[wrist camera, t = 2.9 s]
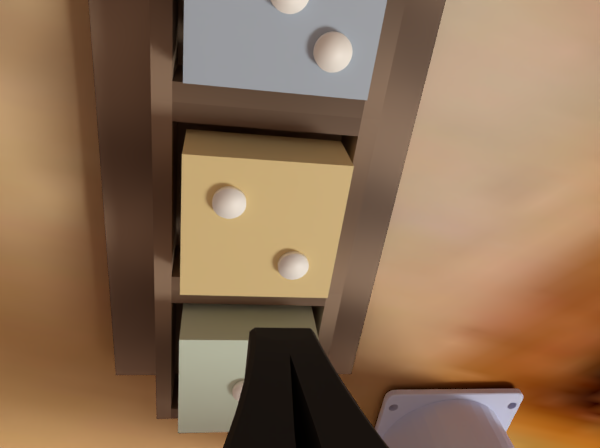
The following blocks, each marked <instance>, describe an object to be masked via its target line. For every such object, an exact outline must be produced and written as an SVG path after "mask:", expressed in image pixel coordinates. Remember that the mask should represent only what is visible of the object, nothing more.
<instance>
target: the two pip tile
mask: <svg viewBox="0 0 600 448" xmlns="http://www.w3.org/2000/svg"><path fill="white" fill-rule="evenodd" d="M353 169H354V165H353V163H352V161H351V160H350V158H349V156H348V154H347V152H346V150H345V148H344V146H343V144H342V142H341V141H332V140H319V139H306V138H294V137H281V136H268V135H256V134H243V133H230V132H217V131H205V130H192V129H186V135H185V140H184V145H183V151H182V180H181V251H180V295H212V296H256V297H300V298H328V294H329V289H330V284H331V279H332V274H333V269H334V264H335V259H336V254H337V249H338V244H339V239H340V234H341V229H342V224H343V219H344V214H345V209H346V204H347V199H348V194H349V189H350V184H351V179H352V174H353Z"/></svg>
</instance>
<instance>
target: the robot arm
mask: <svg viewBox="0 0 600 448" xmlns="http://www.w3.org/2000/svg"><path fill="white" fill-rule="evenodd" d="M522 400H523V394H522V393H521V391H520V390H519V389H515V388H507V389H408V390H391V391H389V392H388V393H386V395H385V397H384V400H383V403H382V407H381V410H380V413H379V416H378V419H377V423H376V426H375V429H374V427H373V426H372V425H371V423H370V422H369V420H368V419H367V418H366V416H365V415H364V413H363V412H362V410H361V409H360V407H359V406H358V404H357V403H356V401H355V400H354V398H353V397H352V395H351V394H350V392H349V391H348V389H347V388H346V386H345V385H344V383H343V382H342V380H341V378H340V377H339V375H338V374H337V372H336V370H335V369H334V367H333V365H332V364H331V362H330V360H329V358H328V357H327V355H326V353H325V351H324V350H323V348H322V346H321V344H320V342H319V340H318V338H317V337H316V335H315V333H314V331H313V330H312V329H311V328H260V327H255V328H254V329H252V330H251V331H249V340H248V349H247V359H246V368H245V378H244V383H243V387H242V391H241V394H240V398H239V402H238V406H237V409H236V412H235V415H234V418H233V421H232V424H231V427H230V430H229V432H228V435H227V438H226V441H225V444H224V447H223V448H514V446H513V444H512V442H511V441H510V439H509V437H508V435H507V433H506V431H507V429H508V427H509V425H510V423H511V421H512V419H513V417H514V415H515V413H516V411H517V409H518V407H519V405H520V403H521V401H522Z"/></svg>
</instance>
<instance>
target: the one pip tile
mask: <svg viewBox="0 0 600 448" xmlns="http://www.w3.org/2000/svg"><path fill="white" fill-rule="evenodd" d="M255 327H260V328H311V329H312V330H313V331H314V333H315V335H316V337H317V338H318V334H317V329H316V325H315V320H314V316H313V311H312V307H311V306H296V305H246V304H195V303H183V310H182V319H181V328H180V337H179V392H178V433H205V432H229V430H230V427H231V424H232V421H233V418H234V415H235V412H236V409H237V406H238V402H239V398H240V394H241V391H242V387H243V383H244V378H245V368H246V359H247V349H248V340H249V331H251V330H252V329H254V328H255ZM318 340H319V338H318Z"/></svg>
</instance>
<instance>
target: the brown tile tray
mask: <svg viewBox="0 0 600 448" xmlns="http://www.w3.org/2000/svg"><path fill="white" fill-rule="evenodd" d="M445 1H446V0H387V4H386V9H385V14H384V19H383V24H382V29H381V34H380V39H379V44H378V49H377V54H376V59H375V64H374V69H373V74H372V79H371V84H370V89H369V94H368V99H367V100H358V99H347V98H336V97H326V96H315V95H304V94H294V93H283V92H272V91H262V90H251V89H241V88H230V87H219V86H209V85H198V84H187V83H183V39H184V0H89V14H90V28H91V41H92V55H93V69H94V82H95V96H96V110H97V123H98V137H99V151H100V164H101V178H102V192H103V205H104V219H105V232H106V246H107V260H108V273H109V287H110V301H111V314H112V328H113V342H114V355H115V369H116V375H156V410H157V419H169V418H178V392H179V337H180V328H181V319H182V310H183V303H195V304H246V305H296V306H311V307H312V311H313V316H314V320H315V325H316V329H317V334H318V338H319V342H320V344H321V346H322V348H323V350H324V351H325V353H326V355H327V357H328V358H329V360H330V362H331V364H332V365H333V367H334V369H335V370H336V372H337V374H351V372H352V368H353V364H354V360H355V356H356V352H357V348H358V344H359V340H360V336H361V333H362V329H363V325H364V321H365V317H366V313H367V309H368V305H369V301H370V297H371V293H372V289H373V285H374V281H375V277H376V273H377V269H378V265H379V262H380V258H381V254H382V250H383V246H384V242H385V238H386V234H387V230H388V226H389V222H390V218H391V214H392V210H393V206H394V202H395V198H396V194H397V190H398V187H399V183H400V179H401V175H402V171H403V167H404V163H405V159H406V155H407V151H408V147H409V143H410V139H411V135H412V131H413V127H414V123H415V119H416V116H417V112H418V108H419V104H420V100H421V96H422V92H423V88H424V84H425V80H426V76H427V72H428V68H429V64H430V60H431V56H432V52H433V48H434V45H435V41H436V37H437V33H438V29H439V25H440V21H441V17H442V13H443V9H444V5H445ZM186 129H192V130H205V131H217V132H230V133H243V134H256V135H268V136H281V137H294V138H306V139H319V140H332V141H341V142H342V144H343V146H344V148H345V150H346V152H347V154H348V156H349V158H350V160H351V161H352V163H353V165H354V169H353V174H352V179H351V184H350V189H349V194H348V199H347V204H346V209H345V214H344V219H343V224H342V229H341V234H340V239H339V244H338V249H337V254H336V259H335V264H334V269H333V274H332V279H331V284H330V289H329V294H328V298H300V297H256V296H212V295H180V251H181V180H182V151H183V145H184V140H185V135H186Z"/></svg>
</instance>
